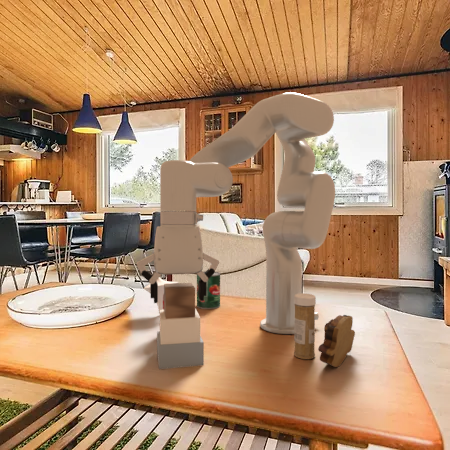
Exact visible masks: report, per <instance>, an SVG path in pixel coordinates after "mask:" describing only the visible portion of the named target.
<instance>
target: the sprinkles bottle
mask: <svg viewBox="0 0 450 450" xmlns="http://www.w3.org/2000/svg"><path fill="white" fill-rule="evenodd" d="M316 300H317V299H316V295H314V294H311V293H303V292H302V293H301V294H296V295H295V296H294V303H295V324H294V334H293V335H294V337H293V339H294V352H293V354H294V357H296V358H297V359H301V360H311V359H313V358H315V356H316V353H315V341H316V340H315V339H316V336H315V332H316V331H315V327H316V323H315V321H316V320H314V315H315V313H316V312H315V309H316V308H315V307H316V302H317V301H316Z"/></svg>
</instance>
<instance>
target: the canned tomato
mask: <svg viewBox="0 0 450 450" xmlns="http://www.w3.org/2000/svg"><path fill="white" fill-rule="evenodd" d="M205 272H206V271H203V273H205ZM199 280H200V277H199V276H198V274H197V273H196V307H197V308H198V309H202V310H214V309H219V308H220V307H221V272H219V271H215V273H214V274H213V275H212V276H211V277H210V278H209V279H208V281H207V282H206V296H204V301H201V300H200V299H199V297H198V281H199Z"/></svg>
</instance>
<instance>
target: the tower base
mask: <svg viewBox="0 0 450 450" xmlns="http://www.w3.org/2000/svg"><path fill="white" fill-rule="evenodd" d="M204 344H205V343H204V340H203V338H202V336H201V335H200V342H193V343H178V344H163V345H161V341H160V330H159V331H158V330H157V332H156V353H157V354H156V355H157V362H158V369H159V370H165V369H177V368H187V367H189V368H190V367H198V366H204V365H205V364H204V363H205V361H204V358H205V355H204V354H205V353H204V352H205V351H204V349H205V346H204Z"/></svg>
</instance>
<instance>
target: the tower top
mask: <svg viewBox="0 0 450 450" xmlns="http://www.w3.org/2000/svg"><path fill="white" fill-rule="evenodd" d="M159 331H160V341H161V345H163V344H178V343H193V342H200V336H201V316H200V314H199V312H198V311H197V308H196V307H195V317H188V318H171V319H166V317H165V313H164V310H160V314H159Z"/></svg>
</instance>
